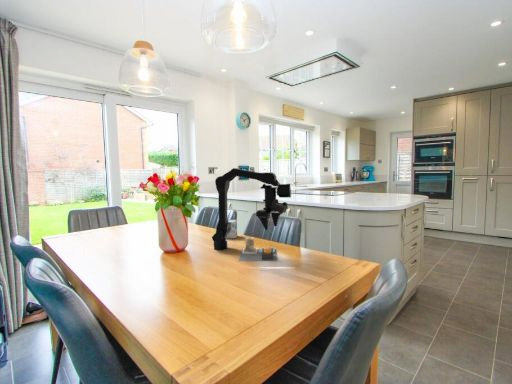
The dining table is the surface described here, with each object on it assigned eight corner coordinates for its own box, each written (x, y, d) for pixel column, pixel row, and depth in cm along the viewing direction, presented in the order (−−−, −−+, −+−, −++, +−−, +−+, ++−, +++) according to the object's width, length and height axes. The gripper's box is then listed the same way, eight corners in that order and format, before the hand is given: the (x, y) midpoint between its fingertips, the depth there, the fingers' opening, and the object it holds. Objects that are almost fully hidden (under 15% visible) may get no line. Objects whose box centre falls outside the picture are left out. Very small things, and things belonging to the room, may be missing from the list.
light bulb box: (237, 235, 171) (237, 219, 170) (235, 238, 164) (235, 221, 164) (221, 235, 172) (220, 219, 171) (219, 238, 166) (218, 221, 165)
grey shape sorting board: (238, 263, 120) (238, 255, 120) (242, 251, 138) (242, 244, 138) (277, 262, 119) (277, 255, 119) (276, 250, 137) (276, 244, 137)
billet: (245, 253, 131) (245, 239, 131) (246, 250, 135) (246, 237, 135) (253, 253, 131) (253, 239, 130) (254, 250, 135) (253, 237, 134)
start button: (263, 255, 122) (263, 249, 122) (263, 253, 125) (263, 247, 125) (271, 255, 122) (271, 249, 121) (271, 253, 125) (271, 247, 125)
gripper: (275, 200, 119) (275, 233, 121) (293, 196, 135) (293, 226, 136) (255, 199, 126) (255, 231, 127) (274, 195, 141) (274, 224, 142)
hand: (271, 228), depth 133 cm, fingers open, 9 cm apart
